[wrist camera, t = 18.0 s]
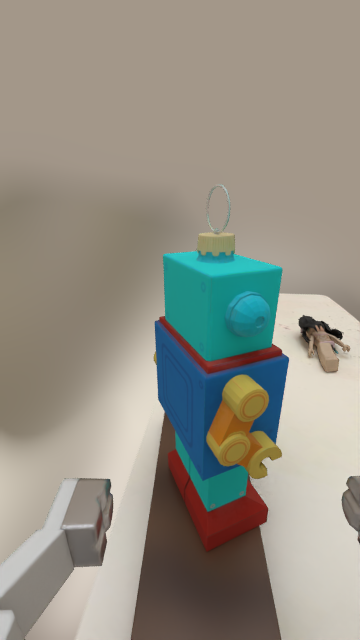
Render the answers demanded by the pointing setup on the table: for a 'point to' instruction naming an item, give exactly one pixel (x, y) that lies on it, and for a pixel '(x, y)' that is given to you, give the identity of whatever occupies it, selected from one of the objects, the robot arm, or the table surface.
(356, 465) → the table surface
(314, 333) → the toy figure
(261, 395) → the toy robot
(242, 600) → the brown slab
